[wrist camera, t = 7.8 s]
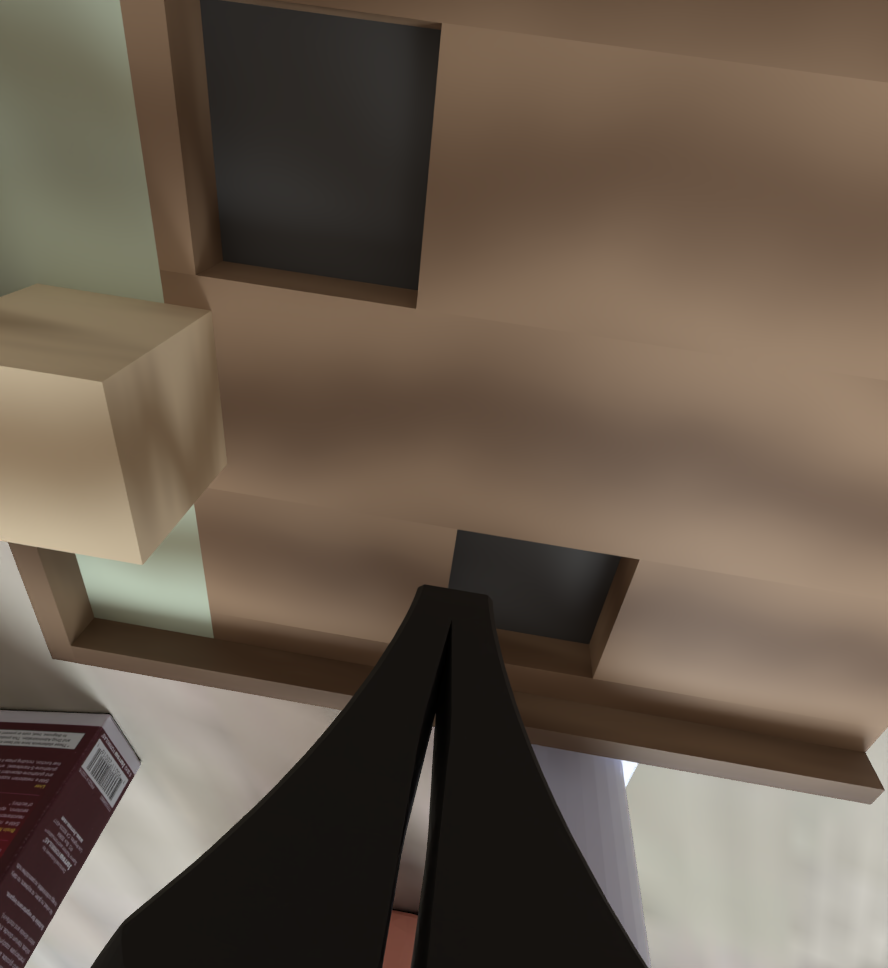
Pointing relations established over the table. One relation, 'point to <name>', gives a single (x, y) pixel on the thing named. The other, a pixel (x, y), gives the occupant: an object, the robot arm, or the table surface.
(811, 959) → the table surface
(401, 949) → the decorative flower
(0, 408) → the block
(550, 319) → the trap box
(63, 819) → the supplement box
